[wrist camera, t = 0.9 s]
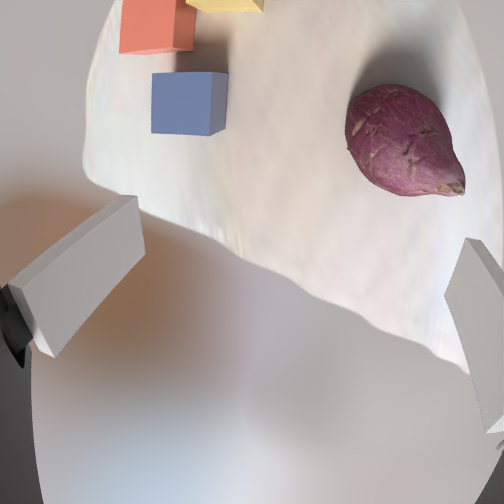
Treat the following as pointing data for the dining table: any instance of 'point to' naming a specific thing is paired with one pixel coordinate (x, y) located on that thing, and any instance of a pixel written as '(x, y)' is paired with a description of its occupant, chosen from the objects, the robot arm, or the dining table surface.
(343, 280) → the dining table surface
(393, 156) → the vegetable
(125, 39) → the red brick
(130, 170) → the dining table surface
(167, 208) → the dining table surface
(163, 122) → the blue cube
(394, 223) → the dining table surface
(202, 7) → the mustard brick
